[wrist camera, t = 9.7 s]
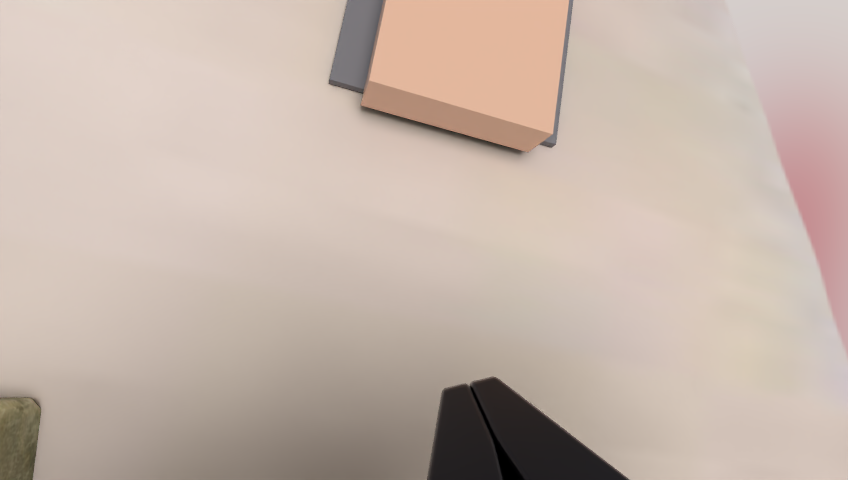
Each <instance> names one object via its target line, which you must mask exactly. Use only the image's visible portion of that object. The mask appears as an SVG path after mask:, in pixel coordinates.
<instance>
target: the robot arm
mask: <svg viewBox="0 0 848 480" xmlns="http://www.w3.org/2000/svg"><path fill="white" fill-rule="evenodd" d="M427 480H629V479H628V478H627V477H625V476H624V475H623V474H622V473H620V472H619V471H618V470H616V469H615V468H614V467H612V466H611V465H610V464H609V463H607V462H606V461H605V460H603V459H602V458H601V457H599V456H598V455H597V454H596V453H594V452H593V451H592V450H590V449H589V448H588V447H586V446H585V445H584V444H583V443H581V442H580V441H579V440H577V439H576V438H575V437H573V436H572V435H571V434H570V433H568V432H567V431H566V430H564V429H563V428H562V427H560V426H559V425H558V424H557V423H555V422H554V421H553V420H551V419H550V418H549V417H547V416H546V415H545V414H544V413H542V412H541V411H540V410H538V409H537V408H536V407H534V406H533V405H532V404H531V403H529V402H528V401H527V400H525V399H524V398H523V397H521V396H520V395H519V394H517V393H516V392H515V391H514V390H512V389H511V388H510V387H508V386H507V385H506V384H504V383H503V382H502V381H501V380H499V379H498V378H496V377H489V378H485V379H481V380H476V381H473V382H472V383H471V384H470V386H469V385H468V384H460V385H456V386H452V387H448V388H445V389H444V390H443V391H442V394H441V400H440V406H439V412H438V418H437V424H436V430H435V436H434V442H433V447H432V453H431V459H430V465H429V471H428V477H427Z"/></svg>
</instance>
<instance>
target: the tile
mask: <svg viewBox="0 0 848 480" xmlns="http://www.w3.org/2000/svg"><path fill="white" fill-rule="evenodd" d="M568 6H569V0H383V4H382V8H381V13H380V18H379V22H378V27H377V32H376V36H375V41H374V46H373V50H372V55H371V60H370V64H369V69H368V74H367V78H366V83H365V88H364V92H363V97H362V102H361V106H365V107H368V108H372V109H375V110H379V111H383V112H386V113H390V114H393V115H397V116H400V117H404V118H408V119H411V120H415V121H418V122H422V123H425V124H429V125H433V126H436V127H440V128H443V129H447V130H450V131H454V132H457V133H461V134H465V135H468V136H472V137H475V138H479V139H482V140H486V141H490V142H493V143H497V144H500V145H504V146H507V147H511V148H515V149H518V150H522V151H525V152H529V151H530V150H532V149H533V148H535V147H536V146H537V145H539V144H540V143H541V142H543V141H544V140H546V139H547V138H548V137H550V136H551V135H552V134H553V129H554V121H555V112H556V104H557V96H558V88H559V80H560V71H561V63H562V55H563V47H564V38H565V30H566V22H567V14H568Z"/></svg>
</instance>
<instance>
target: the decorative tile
mask: <svg viewBox="0 0 848 480" xmlns="http://www.w3.org/2000/svg"><path fill="white" fill-rule="evenodd" d="M40 415H41V409H40V407H39V406H38V405H37V404H36V403H35V402H34V401H33V400H32V398H26V397H24V398H0V480H32V478H33V471H34V463H35V456H36V447H37V440H38V431H39V424H40Z"/></svg>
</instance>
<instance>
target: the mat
mask: <svg viewBox="0 0 848 480" xmlns="http://www.w3.org/2000/svg"><path fill="white" fill-rule="evenodd" d="M382 4H383V0H348V2H347V6H346V10H345V15H344V19H343V23H342V28H341V32H340V36H339V41H338V45H337V49H336V54H335V58H334V62H333V66H332V71H331V75H330V79H329V84H332V85H336V86H339V87H343V88H346V89H350V90H353V91H357V92H360V93H363V92H364V88H365V83H366V78H367V74H368V69H369V64H370V60H371V55H372V50H373V46H374V41H375V36H376V32H377V27H378V22H379V18H380V13H381V8H382ZM572 6H573V0H569V6H568V14H567V22H566V30H565V38H564V47H563V55H562V63H561V71H560V80H559V88H558V96H557V104H556V112H555V121H554V129H553V134H552V135H551V136H550V137H548V138H547V139H546V140H544V141H543V142H541V143H540V144H542V145H545V146H549V147H553V146H554V145H556V140H557V131H558V123H559V115H560V106H561V98H562V90H563V81H564V73H565V64H566V56H567V48H568V39H569V31H570V23H571V14H572Z"/></svg>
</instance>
